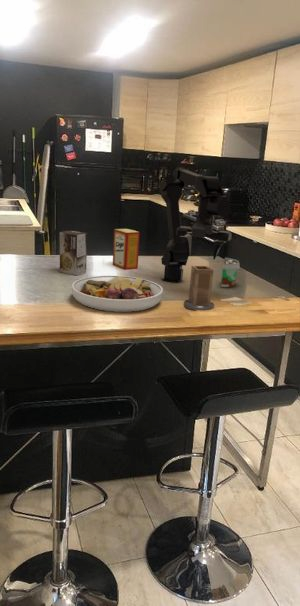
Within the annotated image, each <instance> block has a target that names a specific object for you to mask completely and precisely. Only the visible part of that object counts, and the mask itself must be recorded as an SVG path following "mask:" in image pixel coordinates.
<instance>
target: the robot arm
mask: <svg viewBox="0 0 300 606" xmlns="http://www.w3.org/2000/svg"><path fill="white" fill-rule="evenodd" d="M187 184H188V185H191V186H193V187H194V189H195V191H196V192H198V194H197V195H196V196H195V199H196V200H198V206H197V215H196V219H195V222H194V223H193V225H192V226H188V225H187V226H185V225H182V223H181V221H182V220H181V215H180V214H181V213H180V212H181V211H180V202H179V201H180V200H181V197H182V196H183V190H184V188H186V186H187ZM158 189H159V191H160V197H161V198H162V200H163V201H164V202H165V207H166V216H167V228H168V239H169V241H168V243H167V244H166V246H165V253H164V255H163V256H162V257H161V259H160V260H161V261H160V262H161V265H163V266H164V273H163V278H162V281H165V282H172V283H179V282H181V281H183V278H184V269H183V266H186V265H187V262H188V259H189V257H191V253H192V240H193V239H192V238H194V237H195V238H197V237H198V238H200V239H202V238H206V237H209V238H216V239H217V240H216V241H215V246H214V251H213V257H212V258H213V259H212V260H216V258H217V256H218V254H219V252H220V250H221V247H223V245H224V244H225V243H228V242H229V241H231V240H232V237H233V236H232V232H231V231H230V230H229V231H228V230H219V231H218V232H217V231H214V220H215V217H219V218H226V217H228V216H229V215H230V214H231V210H232V207H231V203H230V202H229V201H228V196H225V192H224V190H223V186H222V184H221V181H220V178H219V177H218V176H205V175H201V174H198V173H196V172H194V171H190V170H188V169H186V168H174V169H173V170H172V172H171V173H168V174H167V175H165V177H163V179H162V180H161V181H160V182H159V187H158Z"/></svg>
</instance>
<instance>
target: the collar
mask: <svg viewBox="0 0 300 606" xmlns="http://www.w3.org/2000/svg"><path fill="white" fill-rule="evenodd" d="M213 277H214V269H213V268H211V267H210V266H209V265H191V268H190V281H189V291H188V300H189V302H190V303H191V304H192V305H193V306H210V302H211V301H212V300H211V299H212V289H213V279H214V278H213Z"/></svg>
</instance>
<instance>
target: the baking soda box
mask: <svg viewBox="0 0 300 606" xmlns="http://www.w3.org/2000/svg"><path fill="white" fill-rule="evenodd" d="M140 235H141V233H140V231H136V230H134V229H129V228H115V229H114V228H113V247H112V248H113V251H112V252H113V253H112V266H114V267H116V268H119V269H122V270H124V271H126V270H127V271H128V270H136V269H137V270H138V267H139V254H140V253H139V251H140V250H139V249H140Z"/></svg>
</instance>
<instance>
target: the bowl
mask: <svg viewBox="0 0 300 606" xmlns="http://www.w3.org/2000/svg"><path fill="white" fill-rule="evenodd" d="M71 293H72V296H73V298H74V299H75V300H76V301H77V302H78V303H80V304H81V305H83V306H85V307H87V306H88V307H87V308H90V307H91V308H90V309H93V308H95V309H94V310H97V309H99V311H103V310H105V311H104V312H110V311H114V312H115V313H131V312H132V311H134V312H140V310H141V311H145V310H148V309H151V308H153V307H155V306H156V305H157V304H158V303H160V301H161V299H162V297H163V295H164V294H163V293H164V289H163V287H162V286H161V285H160V284H159V283H156V282H154V281H152V280H147V279H145V278H141V277H133V276H126V275H96V276H95V275H94V276H87V277H84V278H79V279H77V280H75V281H74V282H72V284H71ZM132 313H133V312H132Z"/></svg>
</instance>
